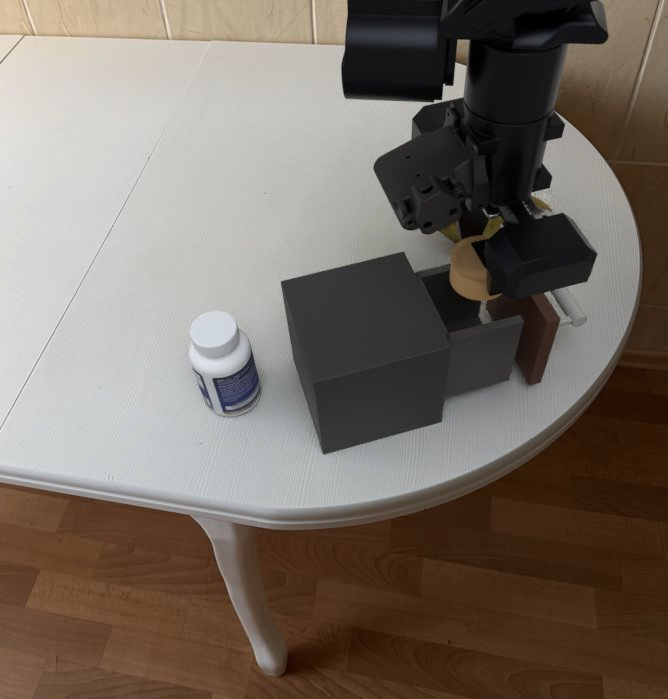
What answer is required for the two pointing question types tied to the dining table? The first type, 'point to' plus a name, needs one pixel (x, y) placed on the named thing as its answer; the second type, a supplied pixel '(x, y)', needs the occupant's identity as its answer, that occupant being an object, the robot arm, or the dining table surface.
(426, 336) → the dark grey cube
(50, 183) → the dining table surface
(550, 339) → the drawer
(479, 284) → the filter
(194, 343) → the pill bottle
